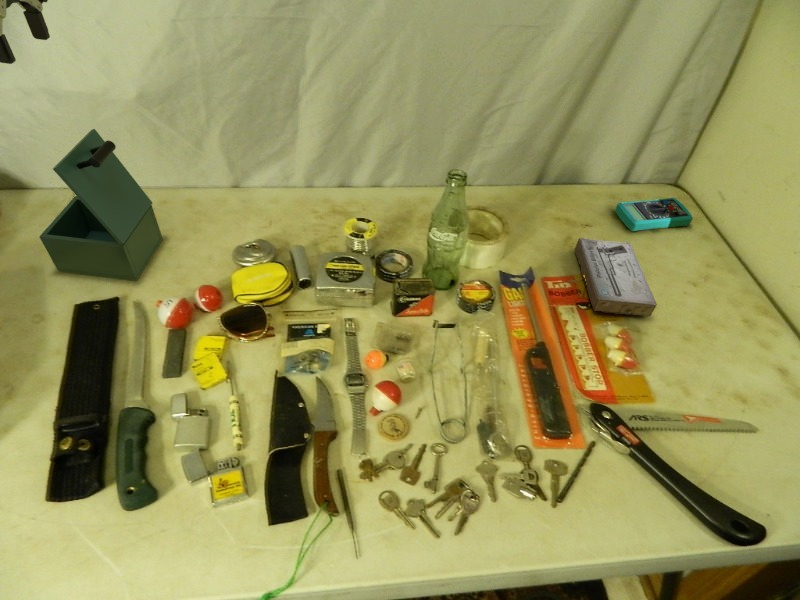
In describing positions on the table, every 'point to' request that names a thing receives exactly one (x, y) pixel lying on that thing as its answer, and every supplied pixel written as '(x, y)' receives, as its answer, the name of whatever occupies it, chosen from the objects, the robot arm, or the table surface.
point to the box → (614, 277)
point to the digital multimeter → (653, 214)
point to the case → (99, 244)
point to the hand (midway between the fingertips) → (25, 50)
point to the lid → (104, 185)
